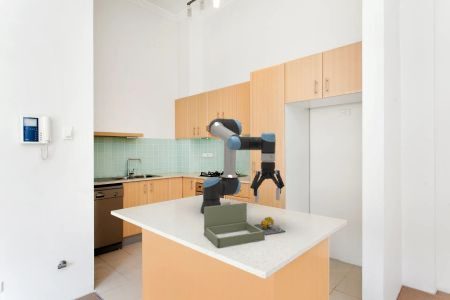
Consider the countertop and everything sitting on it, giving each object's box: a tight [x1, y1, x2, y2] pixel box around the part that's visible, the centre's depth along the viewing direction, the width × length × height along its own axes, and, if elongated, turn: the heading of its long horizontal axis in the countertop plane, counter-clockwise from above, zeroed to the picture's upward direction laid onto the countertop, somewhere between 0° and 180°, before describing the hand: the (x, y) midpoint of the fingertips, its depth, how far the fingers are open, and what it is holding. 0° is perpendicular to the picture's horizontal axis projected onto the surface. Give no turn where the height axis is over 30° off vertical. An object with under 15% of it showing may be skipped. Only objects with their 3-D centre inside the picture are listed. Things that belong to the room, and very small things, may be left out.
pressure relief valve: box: [260, 216, 282, 232], centre depth 130 cm, size 6×12×10 cm
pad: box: [253, 223, 286, 236], centre depth 132 cm, size 16×12×1 cm
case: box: [203, 201, 266, 249], centre depth 120 cm, size 18×24×15 cm
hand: (267, 201), depth 132 cm, fingers open, 13 cm apart
